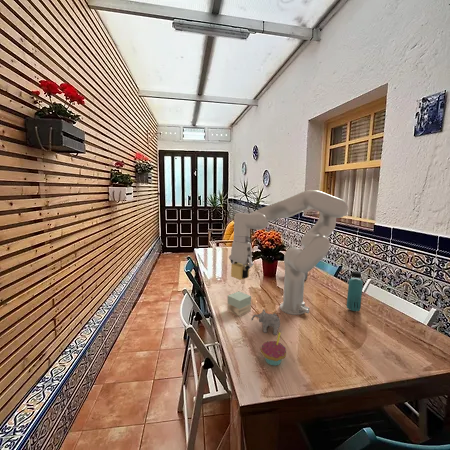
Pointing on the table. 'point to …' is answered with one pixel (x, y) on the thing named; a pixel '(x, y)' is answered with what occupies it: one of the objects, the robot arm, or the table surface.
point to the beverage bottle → (354, 292)
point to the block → (237, 271)
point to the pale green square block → (239, 299)
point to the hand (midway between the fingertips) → (239, 275)
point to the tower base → (239, 310)
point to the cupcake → (273, 351)
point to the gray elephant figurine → (268, 321)
